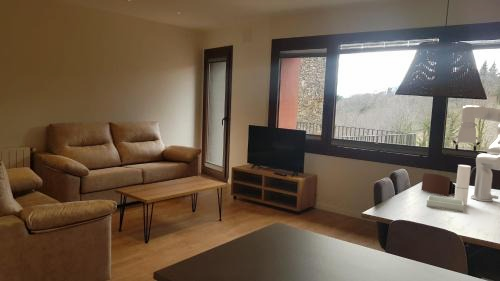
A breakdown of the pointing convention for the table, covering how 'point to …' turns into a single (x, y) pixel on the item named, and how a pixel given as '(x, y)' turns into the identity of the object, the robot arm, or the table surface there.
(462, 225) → the table surface
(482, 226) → the table surface
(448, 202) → the tray
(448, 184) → the letter holder
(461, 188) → the cylindrical container
